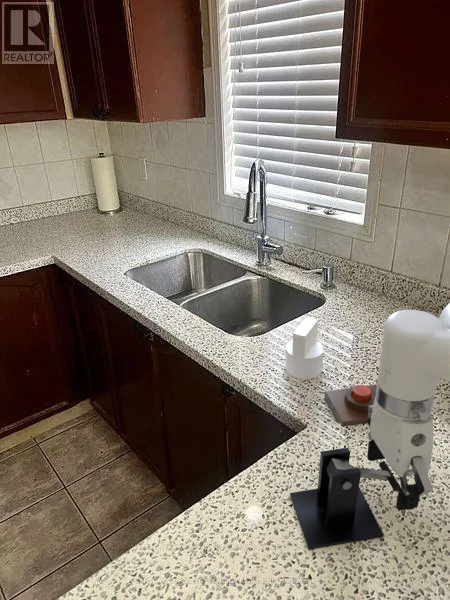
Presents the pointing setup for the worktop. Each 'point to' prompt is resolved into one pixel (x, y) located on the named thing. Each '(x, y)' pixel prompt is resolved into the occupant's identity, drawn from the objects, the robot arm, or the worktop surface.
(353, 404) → the control block
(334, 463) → the lever
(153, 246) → the worktop surface
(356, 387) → the button
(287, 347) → the base with upright slab
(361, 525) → the black lever stand
